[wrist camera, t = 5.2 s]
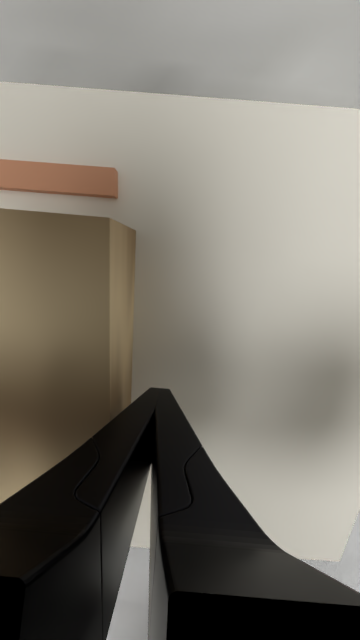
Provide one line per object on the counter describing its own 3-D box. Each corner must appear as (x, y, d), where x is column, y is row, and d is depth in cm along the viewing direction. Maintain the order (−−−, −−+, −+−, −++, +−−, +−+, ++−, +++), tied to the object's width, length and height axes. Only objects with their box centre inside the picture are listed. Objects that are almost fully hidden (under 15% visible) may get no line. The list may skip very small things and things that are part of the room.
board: (333, 550, 13) (344, 571, 12) (-202, 512, 13) (-230, 531, 12) (487, 128, 8) (526, 112, 7) (-434, 58, 8) (-515, 32, 7)
